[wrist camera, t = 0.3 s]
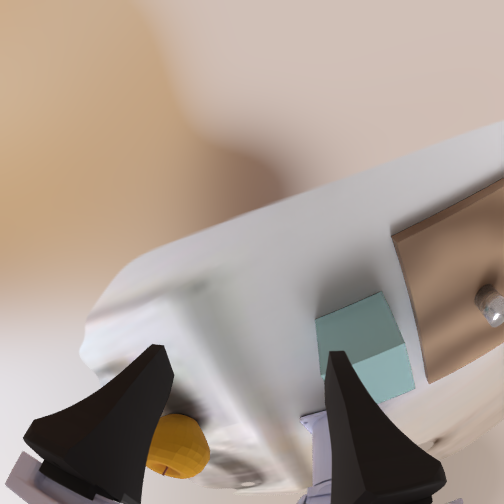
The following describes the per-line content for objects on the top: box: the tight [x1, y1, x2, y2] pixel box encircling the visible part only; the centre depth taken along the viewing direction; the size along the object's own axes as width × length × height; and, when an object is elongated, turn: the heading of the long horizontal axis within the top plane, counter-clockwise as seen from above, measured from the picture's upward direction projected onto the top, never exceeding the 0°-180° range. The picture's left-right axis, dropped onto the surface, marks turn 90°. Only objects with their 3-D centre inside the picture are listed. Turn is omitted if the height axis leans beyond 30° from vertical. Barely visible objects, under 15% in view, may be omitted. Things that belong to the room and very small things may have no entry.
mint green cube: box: [315, 291, 415, 404], centre depth 20 cm, size 6×6×6 cm
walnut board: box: [391, 178, 504, 384], centre depth 19 cm, size 18×14×1 cm
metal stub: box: [474, 284, 504, 327], centre depth 17 cm, size 2×2×3 cm
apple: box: [146, 414, 210, 479], centre depth 28 cm, size 9×9×9 cm
